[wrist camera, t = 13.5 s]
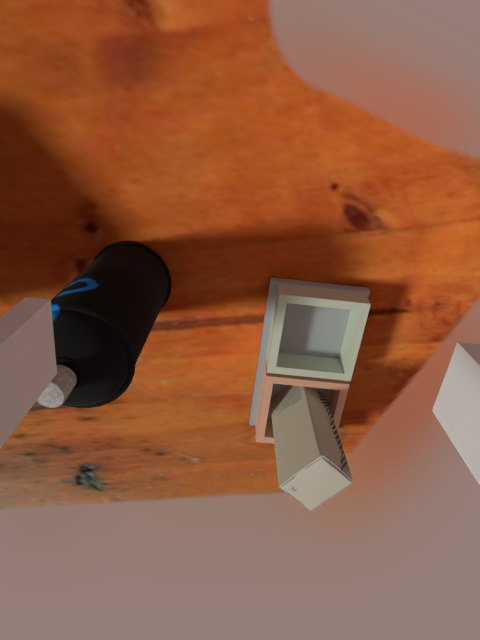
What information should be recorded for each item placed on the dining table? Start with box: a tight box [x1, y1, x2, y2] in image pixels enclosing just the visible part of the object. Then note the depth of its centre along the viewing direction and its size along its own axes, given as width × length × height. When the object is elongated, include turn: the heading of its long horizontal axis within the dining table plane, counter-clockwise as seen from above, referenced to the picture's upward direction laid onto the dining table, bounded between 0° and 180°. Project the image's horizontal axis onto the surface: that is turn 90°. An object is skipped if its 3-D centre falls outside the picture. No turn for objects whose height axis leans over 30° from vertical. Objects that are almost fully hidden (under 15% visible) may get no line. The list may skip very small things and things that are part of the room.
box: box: [270, 385, 353, 511], centre depth 42 cm, size 5×4×13 cm
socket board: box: [249, 277, 371, 444], centre depth 45 cm, size 18×10×4 cm, turn 174°
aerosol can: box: [37, 242, 171, 408], centre depth 34 cm, size 8×8×20 cm
